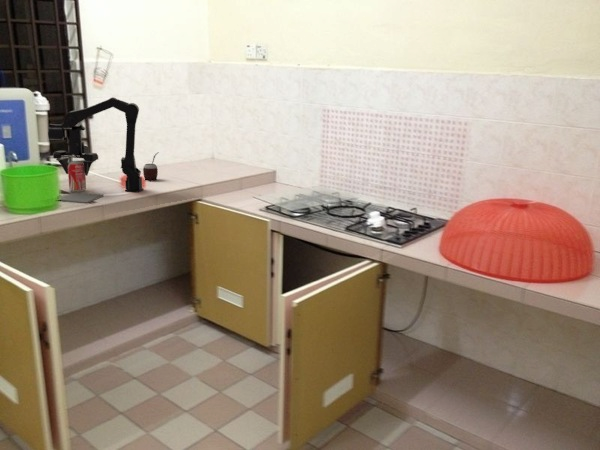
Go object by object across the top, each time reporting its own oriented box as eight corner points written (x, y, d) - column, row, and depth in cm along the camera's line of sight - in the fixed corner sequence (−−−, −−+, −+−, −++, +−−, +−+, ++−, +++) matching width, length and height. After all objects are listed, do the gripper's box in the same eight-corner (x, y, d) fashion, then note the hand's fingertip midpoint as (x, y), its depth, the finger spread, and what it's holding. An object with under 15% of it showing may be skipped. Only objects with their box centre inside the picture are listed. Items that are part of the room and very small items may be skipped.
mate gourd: (143, 178, 280) (142, 149, 276) (159, 178, 282) (159, 149, 278) (143, 181, 273) (142, 151, 269) (159, 181, 275) (158, 152, 271)
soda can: (89, 189, 252) (87, 161, 248) (81, 193, 245) (79, 164, 241) (74, 188, 253) (72, 160, 249) (66, 191, 246) (64, 163, 242)
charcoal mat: (103, 195, 242) (103, 194, 242) (86, 203, 229) (86, 201, 229) (74, 193, 244) (73, 191, 244) (55, 200, 231) (55, 199, 230)
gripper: (103, 139, 249) (105, 173, 253) (65, 136, 251) (67, 170, 256) (90, 142, 238) (92, 177, 243) (51, 139, 241) (53, 174, 245)
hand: (77, 174), depth 247 cm, fingers open, 9 cm apart
